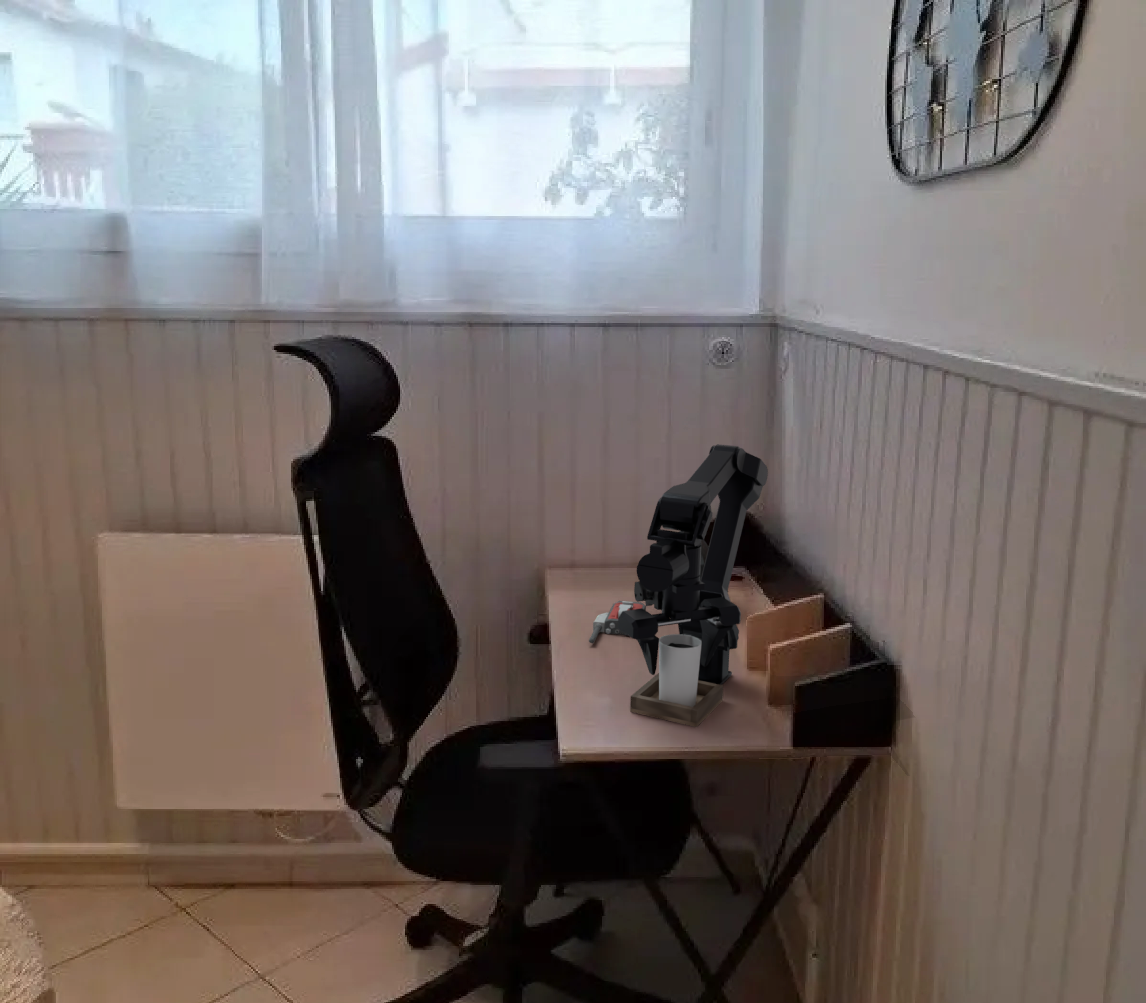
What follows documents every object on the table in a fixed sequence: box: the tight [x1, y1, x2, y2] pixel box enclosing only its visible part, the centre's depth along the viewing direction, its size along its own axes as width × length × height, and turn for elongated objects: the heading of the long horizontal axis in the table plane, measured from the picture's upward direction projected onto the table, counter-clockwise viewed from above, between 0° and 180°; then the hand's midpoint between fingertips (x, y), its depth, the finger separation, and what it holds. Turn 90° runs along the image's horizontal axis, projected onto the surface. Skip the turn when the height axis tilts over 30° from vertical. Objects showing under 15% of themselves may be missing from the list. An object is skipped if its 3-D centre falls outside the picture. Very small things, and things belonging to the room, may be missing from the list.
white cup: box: [658, 633, 702, 707], centre depth 163 cm, size 7×7×10 cm
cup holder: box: [629, 672, 724, 728], centre depth 164 cm, size 11×11×3 cm
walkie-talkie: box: [588, 600, 647, 644], centre depth 197 cm, size 9×4×20 cm
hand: (678, 669), depth 163 cm, fingers open, 9 cm apart
